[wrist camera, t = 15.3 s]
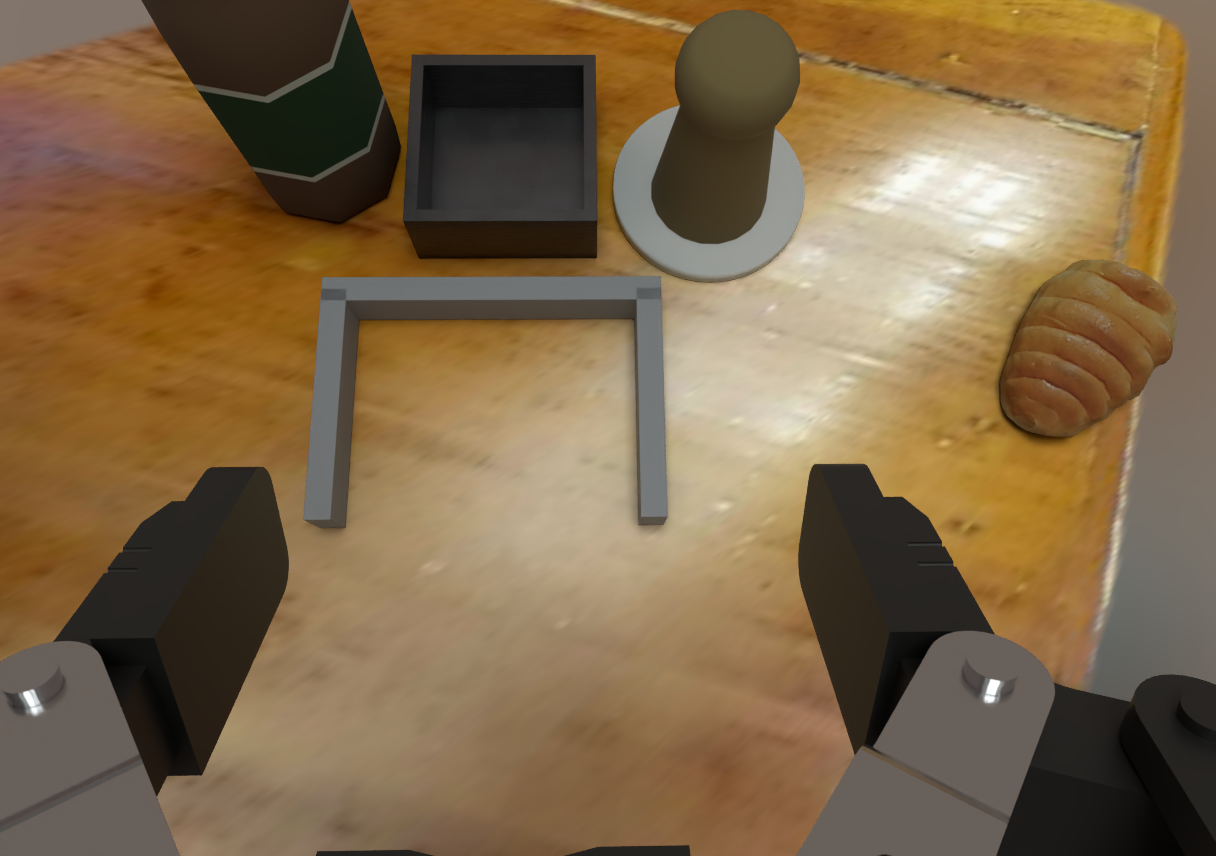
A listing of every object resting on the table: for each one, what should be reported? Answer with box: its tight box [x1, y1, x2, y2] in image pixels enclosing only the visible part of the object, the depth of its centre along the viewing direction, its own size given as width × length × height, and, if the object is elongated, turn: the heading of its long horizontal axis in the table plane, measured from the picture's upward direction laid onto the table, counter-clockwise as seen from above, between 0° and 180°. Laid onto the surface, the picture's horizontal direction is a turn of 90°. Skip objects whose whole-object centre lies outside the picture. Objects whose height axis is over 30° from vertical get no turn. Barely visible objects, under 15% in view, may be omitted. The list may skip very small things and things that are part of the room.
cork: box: [651, 10, 800, 244], centre depth 40 cm, size 6×6×11 cm
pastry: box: [1000, 260, 1177, 437], centre depth 43 cm, size 9×7×4 cm
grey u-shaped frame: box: [303, 276, 668, 528], centre depth 42 cm, size 16×12×2 cm
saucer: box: [613, 106, 805, 282], centre depth 46 cm, size 10×10×1 cm
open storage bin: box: [403, 55, 597, 258], centre depth 45 cm, size 9×9×4 cm
